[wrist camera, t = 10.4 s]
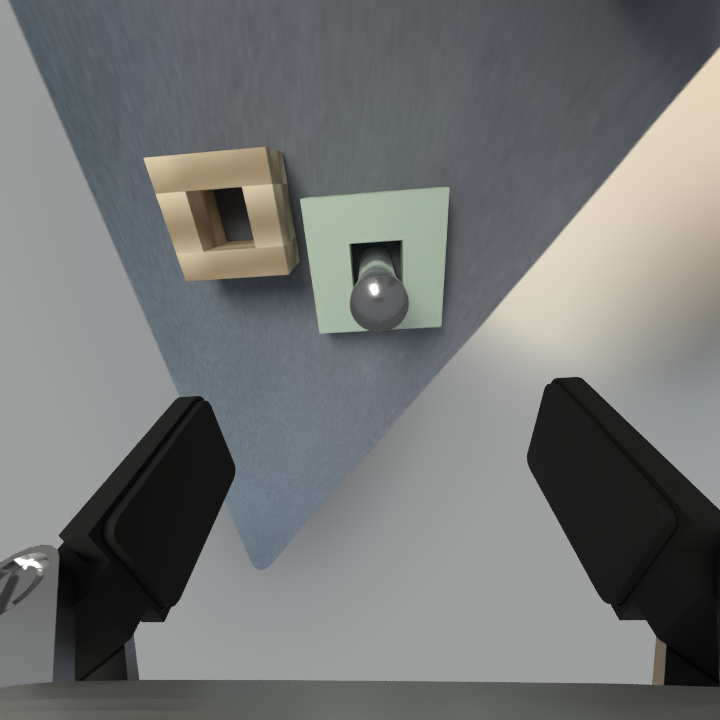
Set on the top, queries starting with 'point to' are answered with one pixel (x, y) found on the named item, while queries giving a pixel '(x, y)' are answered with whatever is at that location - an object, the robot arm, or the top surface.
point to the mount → (202, 217)
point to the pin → (378, 293)
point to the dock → (375, 224)
